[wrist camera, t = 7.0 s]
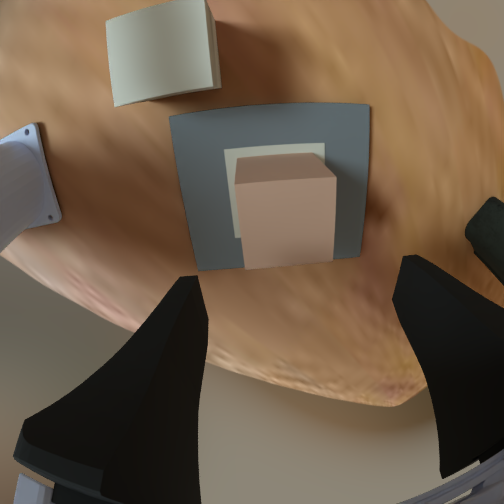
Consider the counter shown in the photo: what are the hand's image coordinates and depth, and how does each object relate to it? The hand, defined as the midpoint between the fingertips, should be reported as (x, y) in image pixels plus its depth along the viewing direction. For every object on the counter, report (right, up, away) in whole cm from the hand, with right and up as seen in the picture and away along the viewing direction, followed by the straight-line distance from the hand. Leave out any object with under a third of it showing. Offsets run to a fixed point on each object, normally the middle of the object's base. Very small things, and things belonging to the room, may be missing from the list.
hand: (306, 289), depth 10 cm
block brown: (0, +5, +8) cm, 9 cm away
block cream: (-6, +12, +4) cm, 14 cm away
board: (0, +5, +8) cm, 10 cm away
